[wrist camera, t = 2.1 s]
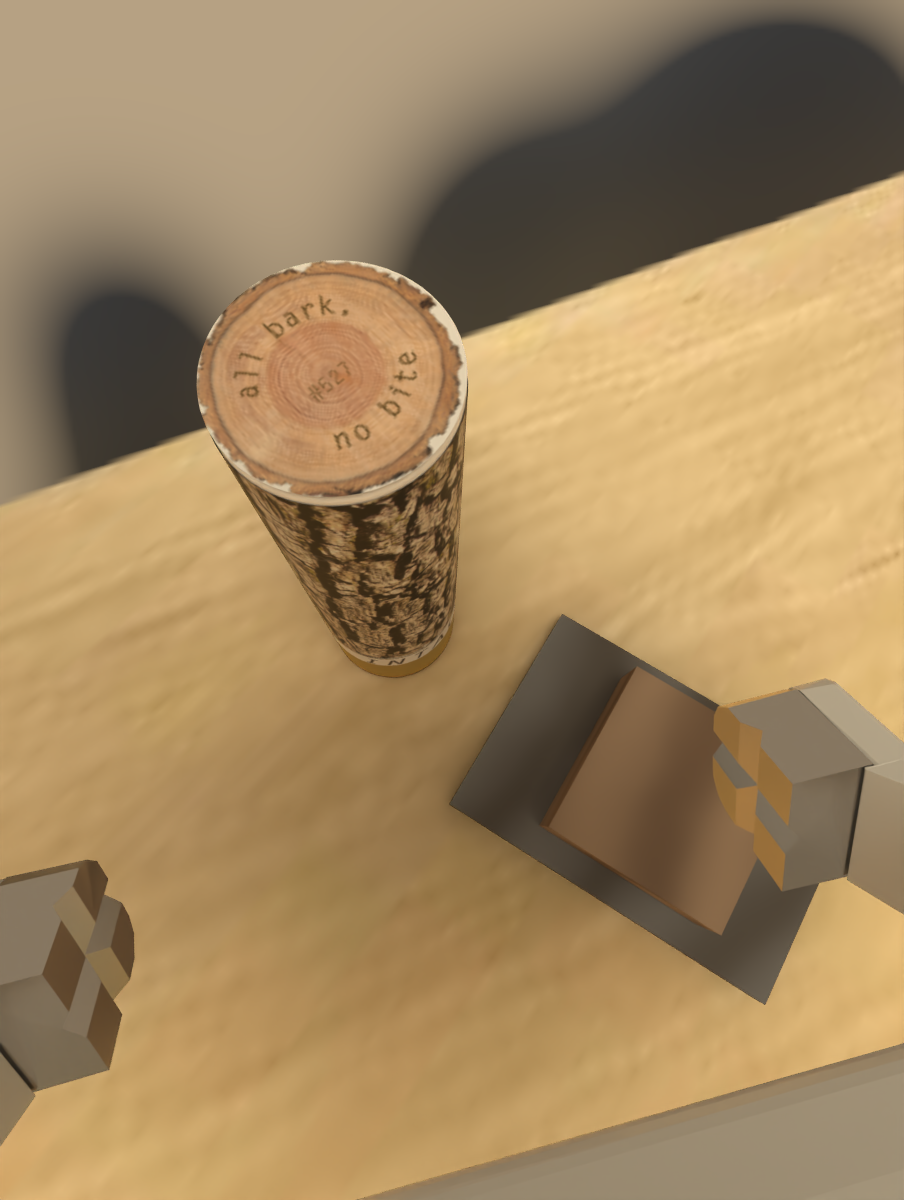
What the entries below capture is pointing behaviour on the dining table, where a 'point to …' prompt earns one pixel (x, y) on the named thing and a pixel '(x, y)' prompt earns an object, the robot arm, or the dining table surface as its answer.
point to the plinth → (541, 771)
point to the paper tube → (349, 447)
